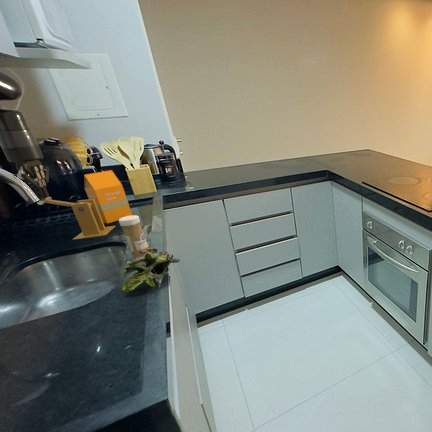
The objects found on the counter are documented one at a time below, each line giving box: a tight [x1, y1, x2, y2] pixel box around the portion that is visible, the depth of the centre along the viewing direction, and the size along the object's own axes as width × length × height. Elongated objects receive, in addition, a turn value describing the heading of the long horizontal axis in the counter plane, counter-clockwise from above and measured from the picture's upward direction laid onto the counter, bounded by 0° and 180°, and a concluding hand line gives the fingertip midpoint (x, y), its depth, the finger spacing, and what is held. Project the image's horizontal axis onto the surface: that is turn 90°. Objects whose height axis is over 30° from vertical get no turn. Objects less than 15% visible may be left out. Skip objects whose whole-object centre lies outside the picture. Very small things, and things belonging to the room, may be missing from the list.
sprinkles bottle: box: [118, 214, 150, 261], centre depth 88 cm, size 5×5×13 cm
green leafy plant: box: [121, 247, 181, 294], centre depth 76 cm, size 11×11×12 cm
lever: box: [36, 196, 92, 208], centre depth 101 cm, size 12×5×2 cm, turn 113°
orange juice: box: [83, 169, 133, 224], centre depth 117 cm, size 8×9×20 cm
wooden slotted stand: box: [70, 198, 116, 241], centre depth 105 cm, size 9×9×13 cm
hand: (44, 197), depth 98 cm, fingers closed
